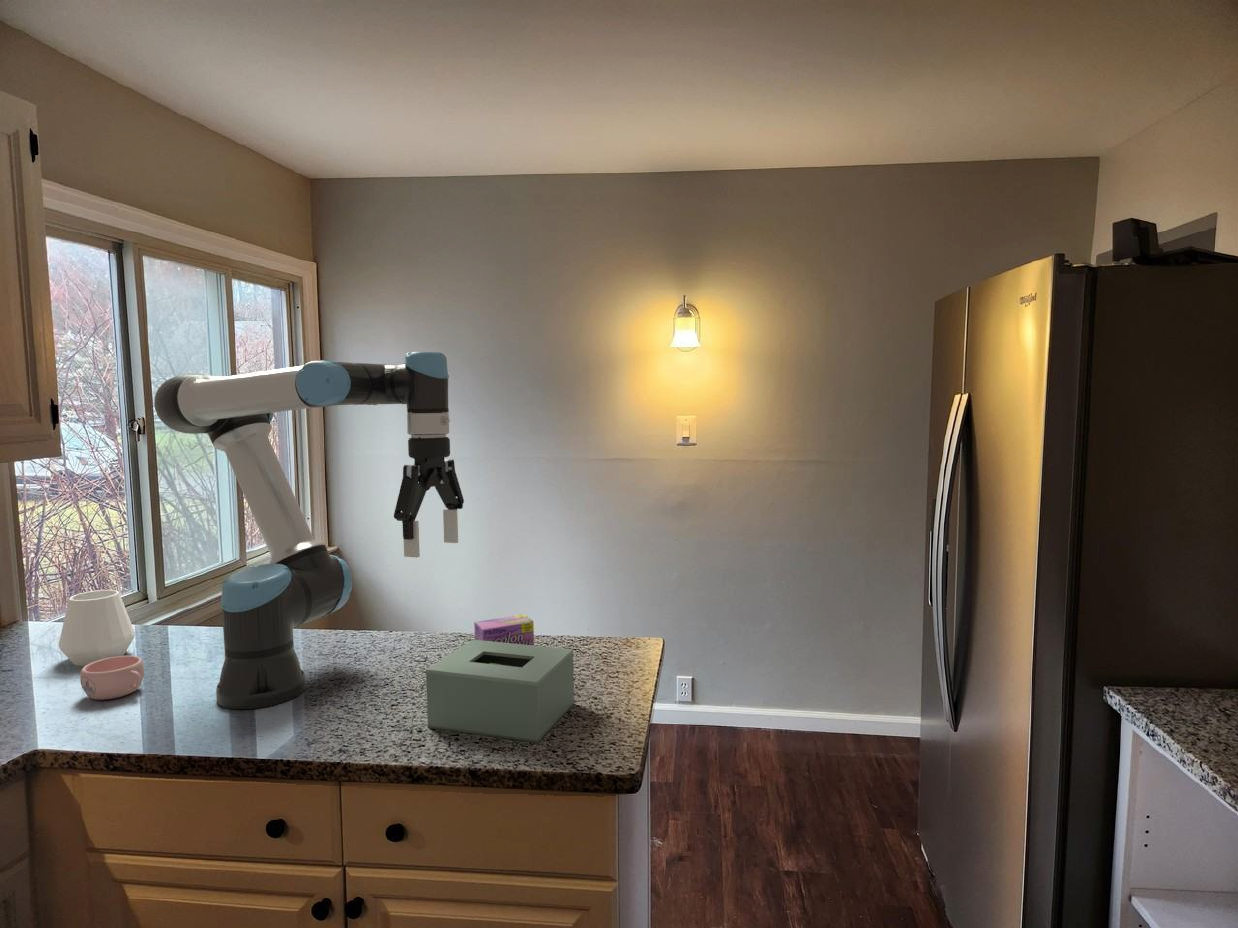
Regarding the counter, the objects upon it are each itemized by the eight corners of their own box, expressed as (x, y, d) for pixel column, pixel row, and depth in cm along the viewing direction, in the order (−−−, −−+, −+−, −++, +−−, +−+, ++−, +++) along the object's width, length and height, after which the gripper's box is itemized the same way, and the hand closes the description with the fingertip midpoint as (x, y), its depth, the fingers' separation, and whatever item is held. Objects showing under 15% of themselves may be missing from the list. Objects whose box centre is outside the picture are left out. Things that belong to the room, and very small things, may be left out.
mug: (68, 701, 138) (66, 669, 137) (120, 681, 147) (118, 652, 147) (116, 709, 134) (113, 677, 133) (165, 688, 143) (163, 658, 143)
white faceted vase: (148, 654, 163) (143, 591, 162) (77, 673, 152) (72, 606, 150) (118, 644, 170) (113, 583, 169) (48, 661, 159) (43, 597, 158)
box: (484, 689, 141) (482, 628, 140) (475, 679, 146) (473, 620, 145) (535, 679, 146) (534, 620, 145) (525, 670, 151) (524, 613, 150)
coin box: (427, 727, 125) (425, 669, 124) (474, 691, 140) (472, 639, 139) (537, 742, 119) (536, 682, 118) (574, 703, 134) (573, 649, 133)
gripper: (408, 440, 125) (412, 564, 127) (479, 433, 149) (482, 538, 151) (369, 439, 128) (374, 562, 130) (446, 432, 151) (449, 536, 153)
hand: (432, 549), depth 140 cm, fingers open, 13 cm apart
